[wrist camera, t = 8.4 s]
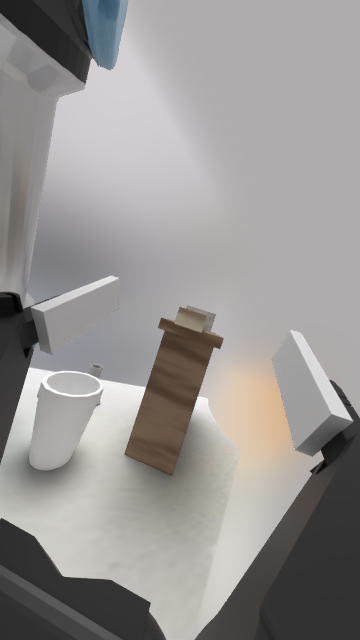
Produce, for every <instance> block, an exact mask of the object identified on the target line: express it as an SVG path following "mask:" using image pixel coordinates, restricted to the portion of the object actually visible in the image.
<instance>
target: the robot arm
mask: <svg viewBox="0 0 360 640" xmlns="http://www.w3.org/2000/svg"><path fill="white" fill-rule="evenodd" d="M127 4H128V0H0V463H1V460H2V457H3V453H4V450H5V446H6V443H7V440H8V436H9V433H10V429H11V426H12V423H13V419H14V416H15V412H16V409H17V406H18V402H19V399H20V395H21V392H22V389H23V385H24V382H25V378H26V375H27V372H28V368H29V365H30V361H31V358H32V354H33V351H34V350H33V349H34V348H35V346H36V344H37V342H39V345H40V350H41V351H44V352H46V353H49V354H51V355H52V354H54V353H55V352H57V351H58V350H60V349H61V348H62V347H64V346H65V345H67V344H68V343H70V342H71V341H73V340H74V339H76V338H77V337H78V336H80V335H81V334H83V333H84V332H86V331H87V330H89V329H90V328H91V327H93V326H94V325H96V324H97V323H99V322H100V321H102V320H103V319H105V318H106V317H107V316H109V315H110V314H112V313H113V312H115V311H116V310H117V309H118V307H119V278H117V277H113V276H109V277H107V278H104V279H101V280H99V281H97V282H94V283H91V284H89V285H86V286H84V287H81V288H78V289H76V290H73V291H71V292H68V293H66V294H63V295H58V296H55V297H53V298H51V299H47V300H45V301H42V302H40V303H37V304H35V302H34V300H33V299H32V297H31V296H30V295H29V294H28V293H27V286H28V279H29V273H30V267H31V261H32V255H33V249H34V242H35V236H36V230H37V223H38V217H39V211H40V204H41V198H42V192H43V185H44V179H45V172H46V167H47V160H48V154H49V148H50V141H51V135H52V129H53V122H54V116H55V110H56V103H57V101H58V99H59V97H62V96H64V95H68V94H71V93H74V92H77V91H80V90H83V89H85V84H86V80H87V75H88V70H89V66H90V61H91V59H92V58H93V59H94V60H95V61H96V63H97V65H98V66H99V65H100V66H101V67H104V68H106V69H108V70H111V69H113V67H114V66H115V63H116V60H117V56H118V51H119V44H120V40H121V35H122V30H123V26H124V21H125V16H126V9H127ZM272 361H273V365H274V369H275V373H276V377H277V381H278V385H279V389H280V392H281V397H282V401H283V405H284V409H285V412H286V416H287V420H288V424H289V428H290V432H291V436H292V440H293V444H294V448H295V450H297V451H299V452H302V453H305V454H307V455H310V456H314V455H315V454H316V453H317V452H319V451H320V450H321V452H322V454H323V457H324V460H323V461H322V462H320V463H319V464H318V465H317V466H315V467H314V468H313V469H312V470H311V471H310V472H311V473H312V475H311V477H310V478H309V480H308V481H307V483H306V484H305V486H304V487H303V489H302V490H301V491H300V493H299V494H298V496H297V497H296V499H295V500H294V502H293V503H292V505H291V506H290V508H289V509H288V511H287V512H286V514H285V515H284V516H283V518H282V520H281V521H280V522H279V524H278V525H277V527H276V528H275V530H274V531H273V533H272V534H271V536H270V537H269V539H268V540H267V542H266V543H265V545H264V546H263V548H262V549H261V551H260V552H259V553H258V555H257V556H256V558H255V560H254V561H253V562H252V564H251V565H250V567H249V568H248V570H247V571H246V573H245V574H244V576H243V577H242V579H241V580H240V582H239V583H238V585H237V586H236V588H235V589H234V590H233V592H232V594H231V595H230V596H229V598H228V599H227V601H226V602H225V604H224V605H223V607H222V608H221V610H220V611H219V612H218V614H217V615H216V616H215V617H214V618H213V619H212V620H211V621H210V622H209V623H208V624H207V625H206V626H205V627H204V629H203V630H202V631H201V633H199V635H198V636H197V637H196V639H195V640H360V418H359V416H358V415H357V413H356V412H355V410H354V408H353V407H351V404H350V402H349V401H348V400H347V398H346V396H345V394H344V393H343V391H342V390H341V388H339V386H337V384H336V383H335V382H333V381H332V380H329V379H328V378H327V376H326V374H325V373H324V371H323V369H322V368H321V366H320V364H319V363H318V361H317V359H316V357H315V356H314V354H313V352H312V351H311V349H310V347H309V346H308V344H307V342H306V341H305V339H304V337H303V335H302V334H301V333H299V332H296V331H292V330H289V332H288V333H287V335H286V337H285V338H284V340H283V342H282V343H281V345H280V347H279V348H278V350H277V352H276V353H275V355H274V357H273V358H272ZM150 604H151V603H150V602H149V601H147V600H145V599H143V598H141V597H140V596H138V595H136V594H134V593H133V592H131V591H129V590H127V589H126V588H124V587H122V586H120V585H119V584H117V583H115V582H113V581H112V580H105V579H88V578H72V577H64V576H62V575H61V573H60V572H59V570H58V569H57V567H56V566H55V564H54V563H53V561H52V560H51V558H50V557H49V556H48V554H47V553H46V552H45V550H44V549H43V548H42V546H41V545H40V543H39V542H38V541H37V539H36V538H35V537H34V536H32V535H31V534H29V533H27V532H25V531H24V530H22V529H20V528H18V527H17V526H15V525H13V524H11V523H10V522H8V521H6V520H4V519H2V518H1V519H0V640H166V638H165V636H164V634H163V632H162V630H161V629H160V627H159V625H158V623H157V622H156V620H155V619H154V617H153V616H152V615H151V613H150V612H149V608H150Z"/></svg>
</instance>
